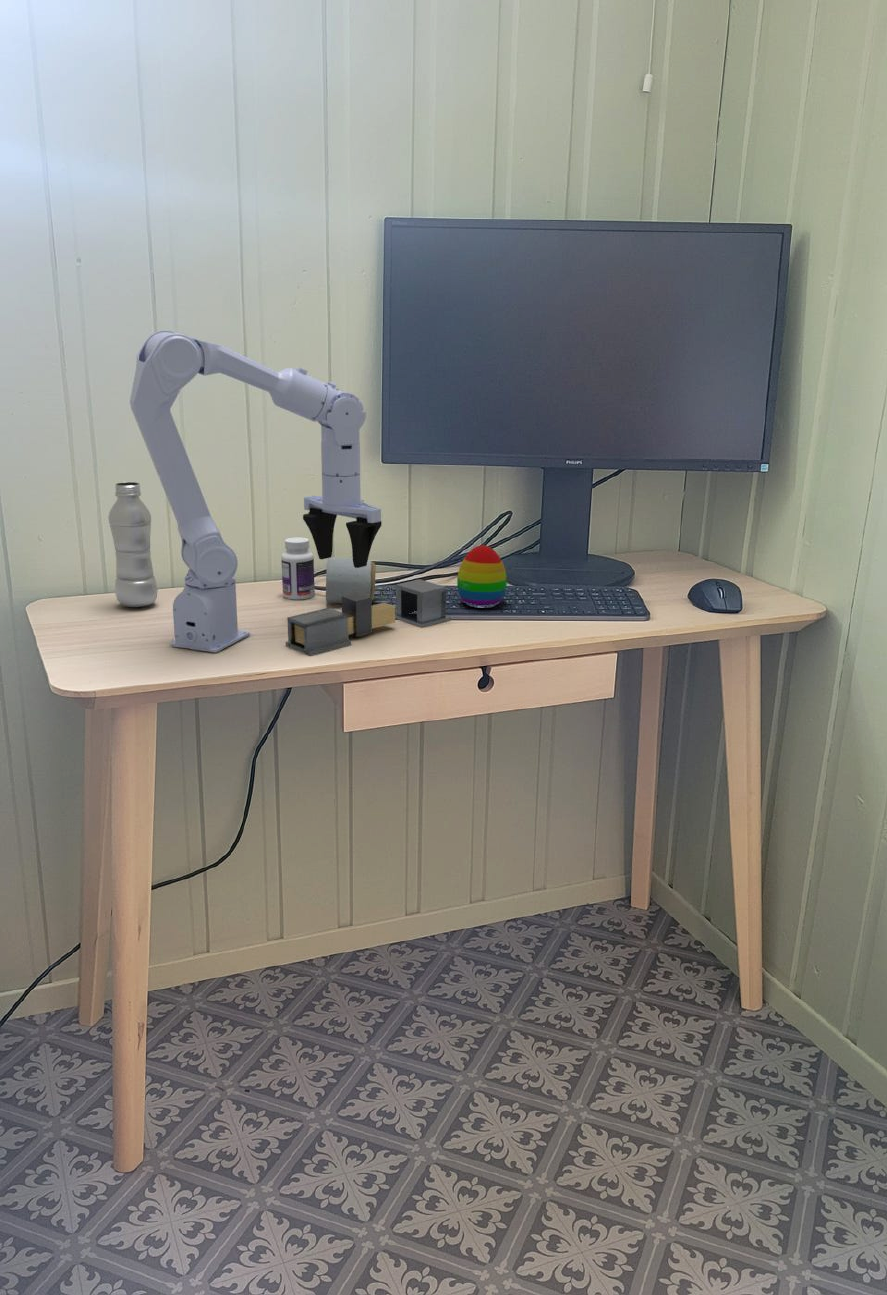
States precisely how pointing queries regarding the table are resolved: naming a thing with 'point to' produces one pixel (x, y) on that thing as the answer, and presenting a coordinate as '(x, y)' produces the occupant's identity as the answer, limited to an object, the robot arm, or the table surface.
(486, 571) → the decorative egg
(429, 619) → the grey square bracket
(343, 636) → the steel sleeve
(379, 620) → the two-tone block
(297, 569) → the pill bottle
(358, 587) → the ceramic mug
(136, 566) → the plastic bottle
